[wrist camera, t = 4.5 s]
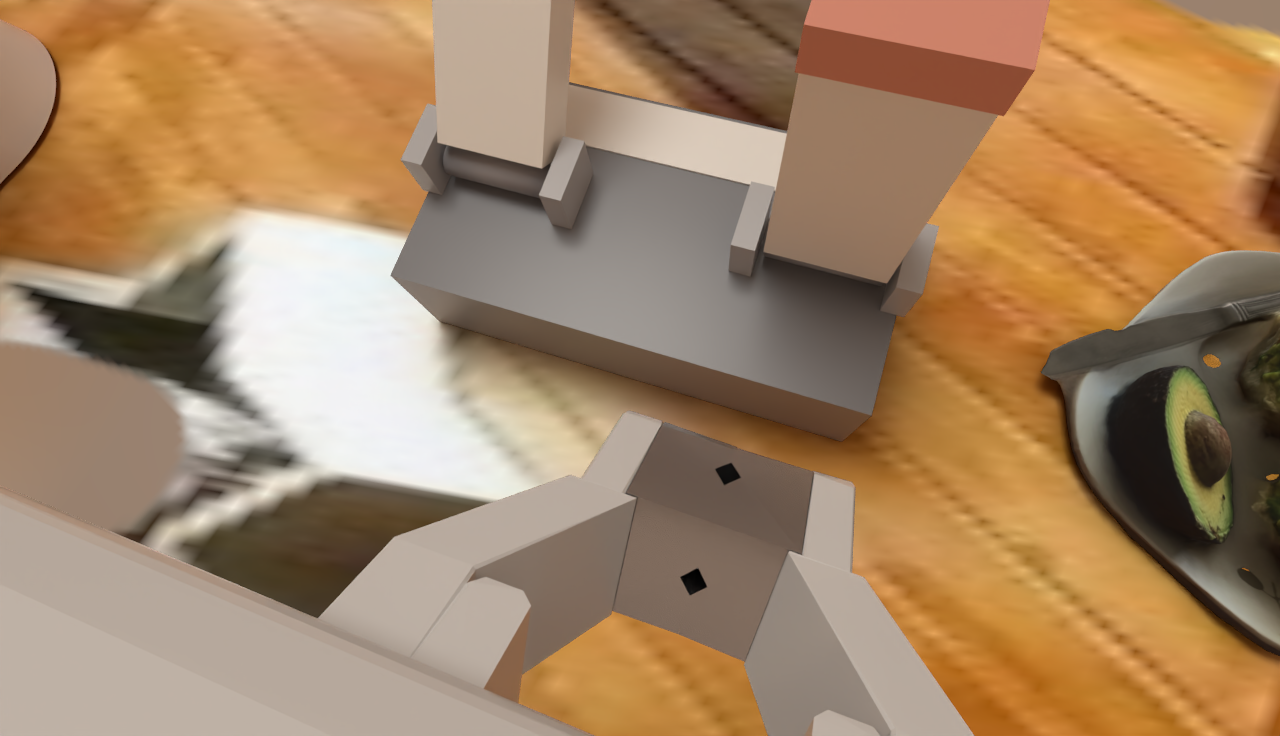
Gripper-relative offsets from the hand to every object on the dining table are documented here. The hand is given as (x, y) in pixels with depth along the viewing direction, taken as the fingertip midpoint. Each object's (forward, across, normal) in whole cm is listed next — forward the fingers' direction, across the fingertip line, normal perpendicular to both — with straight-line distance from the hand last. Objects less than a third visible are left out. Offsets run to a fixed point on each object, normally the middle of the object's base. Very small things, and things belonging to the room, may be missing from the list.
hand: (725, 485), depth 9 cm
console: (+26, -7, -8) cm, 28 cm away
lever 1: (+21, -14, -3) cm, 25 cm away
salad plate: (+27, +22, -9) cm, 36 cm away
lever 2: (+21, +1, -3) cm, 21 cm away
